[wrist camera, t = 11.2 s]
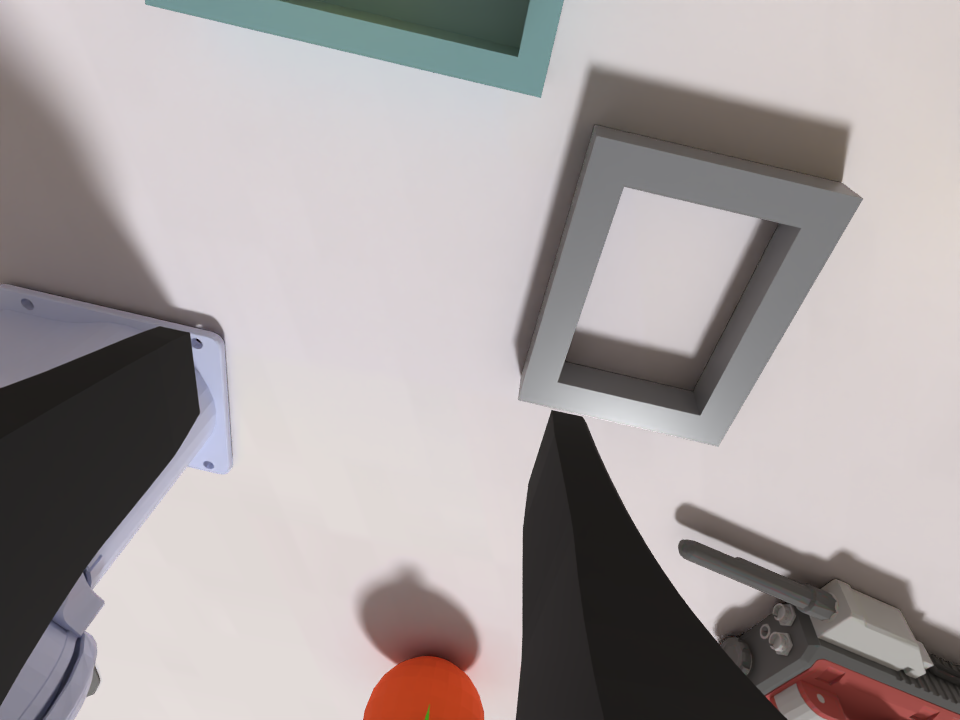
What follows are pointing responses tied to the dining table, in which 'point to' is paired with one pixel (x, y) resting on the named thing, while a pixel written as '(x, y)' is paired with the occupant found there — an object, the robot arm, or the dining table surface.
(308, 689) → the dining table surface
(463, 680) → the clementine
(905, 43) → the dining table surface
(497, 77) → the parts tray
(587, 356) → the dining table surface
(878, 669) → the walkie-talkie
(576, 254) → the frame
